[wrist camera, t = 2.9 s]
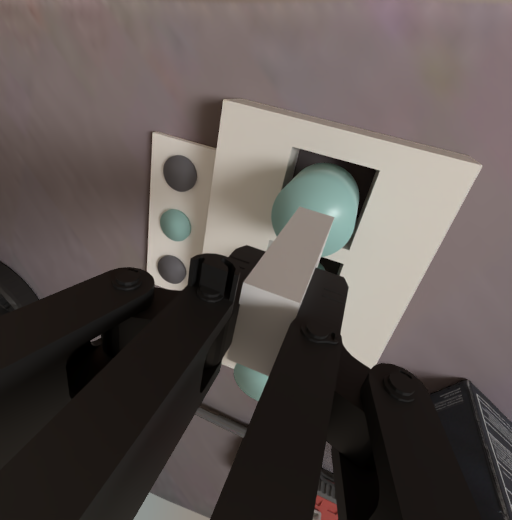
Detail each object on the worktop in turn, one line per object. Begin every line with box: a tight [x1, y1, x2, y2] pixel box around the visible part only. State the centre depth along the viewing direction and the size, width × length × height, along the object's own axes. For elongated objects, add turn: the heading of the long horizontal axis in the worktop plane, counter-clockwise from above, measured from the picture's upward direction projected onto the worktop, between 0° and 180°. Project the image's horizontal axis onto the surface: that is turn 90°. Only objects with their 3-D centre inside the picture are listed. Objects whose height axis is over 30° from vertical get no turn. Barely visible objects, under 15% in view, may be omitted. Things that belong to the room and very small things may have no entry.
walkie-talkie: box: [195, 407, 338, 520], centre depth 35 cm, size 9×4×20 cm
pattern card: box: [147, 132, 217, 290], centre depth 27 cm, size 5×13×1 cm, turn 169°
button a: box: [234, 363, 269, 401], centre depth 24 cm, size 4×4×4 cm
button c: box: [271, 162, 359, 257], centre depth 19 cm, size 4×4×4 cm
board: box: [202, 98, 483, 369], centre depth 24 cm, size 14×20×3 cm
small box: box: [430, 380, 512, 520], centre depth 23 cm, size 11×6×10 cm, turn 49°
